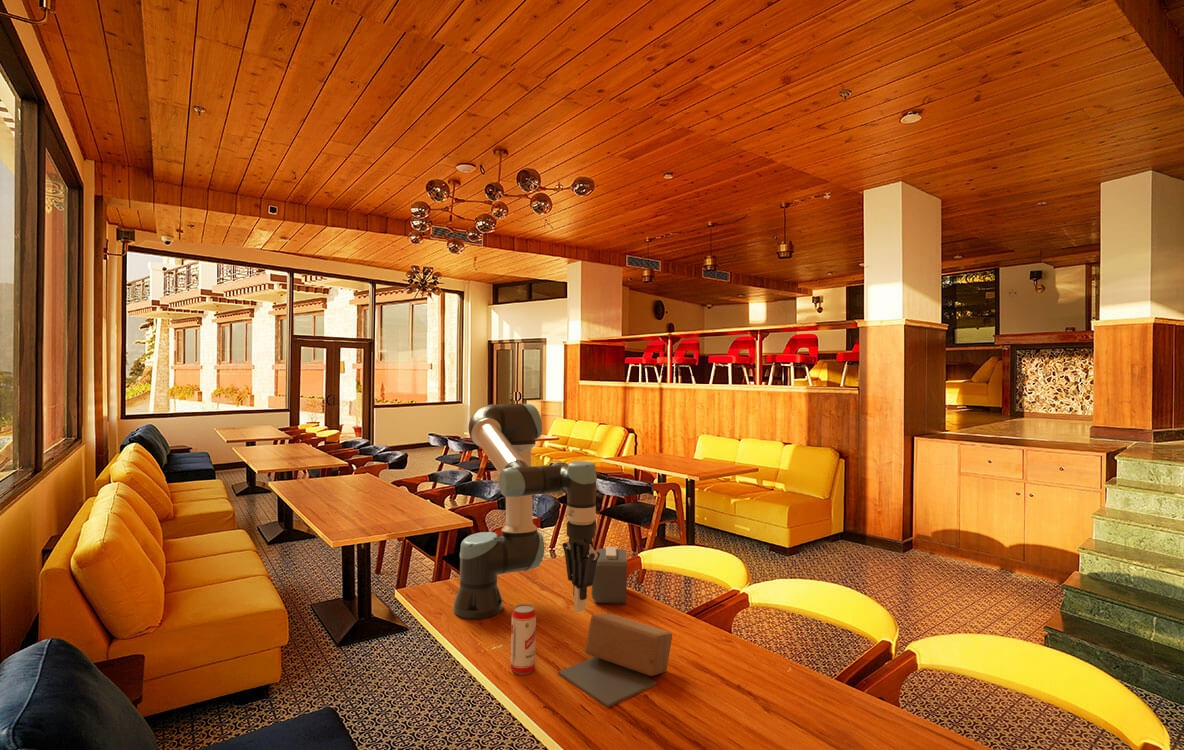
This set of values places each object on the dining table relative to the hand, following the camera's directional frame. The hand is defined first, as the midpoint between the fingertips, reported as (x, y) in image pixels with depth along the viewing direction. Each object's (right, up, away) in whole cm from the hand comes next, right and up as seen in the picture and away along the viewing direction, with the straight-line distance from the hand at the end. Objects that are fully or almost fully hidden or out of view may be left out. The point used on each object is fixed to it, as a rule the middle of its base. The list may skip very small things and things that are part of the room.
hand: (579, 610), depth 162 cm
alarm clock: (+9, -13, +45) cm, 48 cm away
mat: (+7, -14, -8) cm, 18 cm away
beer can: (-15, -14, -4) cm, 20 cm away
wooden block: (+4, -7, +4) cm, 9 cm away
